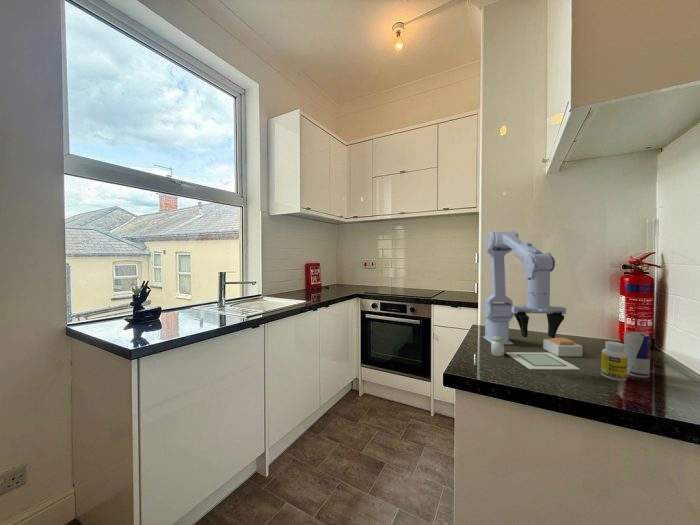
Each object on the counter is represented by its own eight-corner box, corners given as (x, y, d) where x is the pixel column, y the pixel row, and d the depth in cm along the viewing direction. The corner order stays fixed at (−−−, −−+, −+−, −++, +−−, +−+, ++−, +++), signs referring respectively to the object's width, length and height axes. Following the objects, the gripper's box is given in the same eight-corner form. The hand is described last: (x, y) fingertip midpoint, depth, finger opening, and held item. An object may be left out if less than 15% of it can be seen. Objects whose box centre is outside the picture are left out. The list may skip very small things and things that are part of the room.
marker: (489, 352, 101) (489, 335, 101) (500, 352, 101) (500, 335, 101) (494, 356, 97) (494, 339, 97) (506, 356, 97) (506, 339, 97)
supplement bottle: (606, 379, 78) (607, 345, 78) (597, 372, 83) (597, 339, 83) (631, 382, 77) (632, 347, 76) (620, 374, 82) (621, 341, 81)
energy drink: (655, 379, 79) (656, 336, 78) (632, 377, 80) (633, 335, 79) (639, 371, 84) (640, 331, 83) (618, 369, 85) (619, 330, 84)
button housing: (543, 348, 104) (543, 339, 104) (565, 348, 104) (565, 339, 104) (558, 356, 96) (558, 346, 96) (582, 356, 96) (582, 346, 96)
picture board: (506, 353, 100) (506, 352, 100) (549, 353, 99) (549, 352, 99) (529, 369, 86) (529, 368, 86) (580, 369, 85) (580, 368, 85)
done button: (550, 344, 102) (550, 337, 102) (564, 344, 102) (564, 337, 102) (559, 348, 98) (560, 341, 98) (574, 348, 97) (574, 341, 97)
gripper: (518, 294, 83) (518, 340, 83) (573, 295, 81) (572, 341, 81) (508, 291, 90) (508, 333, 90) (558, 291, 88) (557, 334, 88)
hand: (537, 336), depth 86 cm, fingers open, 7 cm apart
